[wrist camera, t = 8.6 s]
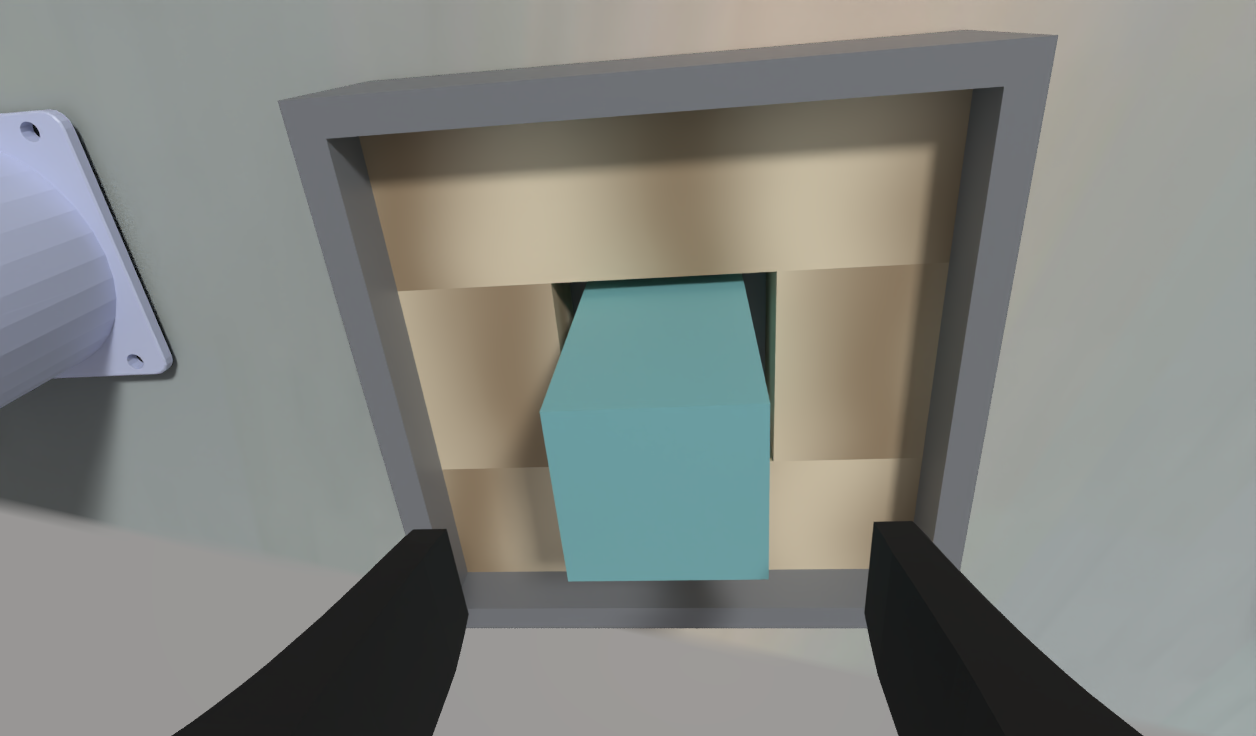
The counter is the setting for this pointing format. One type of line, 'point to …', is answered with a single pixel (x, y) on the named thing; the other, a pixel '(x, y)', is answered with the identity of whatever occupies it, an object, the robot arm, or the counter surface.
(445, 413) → the beige frame
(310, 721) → the robot arm
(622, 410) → the peg
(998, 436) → the counter surface
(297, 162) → the box
